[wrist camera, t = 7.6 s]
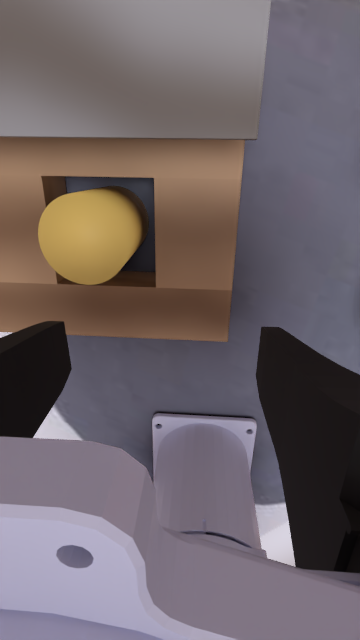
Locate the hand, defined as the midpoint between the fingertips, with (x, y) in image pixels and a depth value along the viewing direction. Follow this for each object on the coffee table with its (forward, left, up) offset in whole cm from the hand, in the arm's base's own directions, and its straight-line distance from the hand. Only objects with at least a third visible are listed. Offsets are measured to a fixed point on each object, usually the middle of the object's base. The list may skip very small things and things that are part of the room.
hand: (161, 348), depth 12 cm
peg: (+3, +4, -10) cm, 11 cm away
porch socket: (+3, +4, -10) cm, 11 cm away
